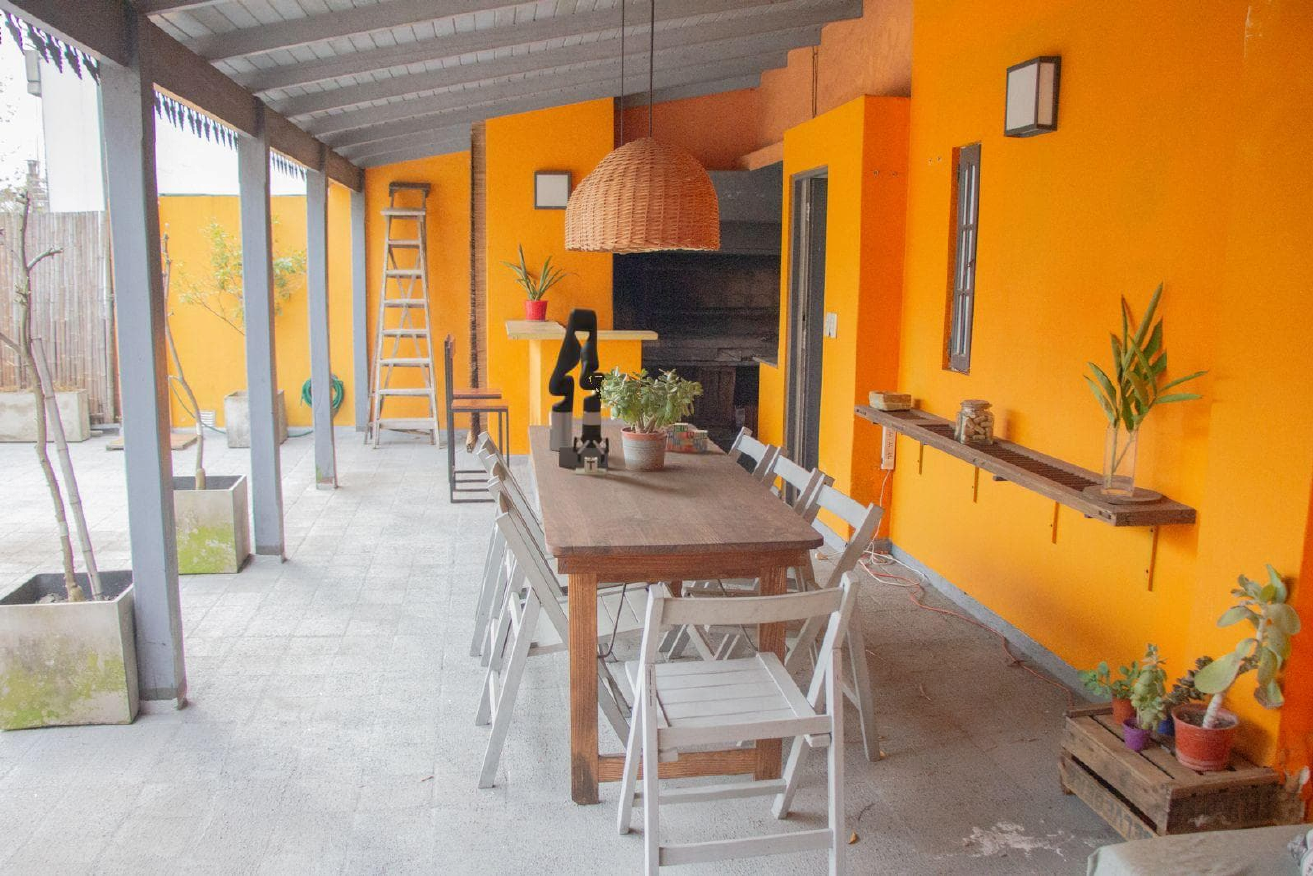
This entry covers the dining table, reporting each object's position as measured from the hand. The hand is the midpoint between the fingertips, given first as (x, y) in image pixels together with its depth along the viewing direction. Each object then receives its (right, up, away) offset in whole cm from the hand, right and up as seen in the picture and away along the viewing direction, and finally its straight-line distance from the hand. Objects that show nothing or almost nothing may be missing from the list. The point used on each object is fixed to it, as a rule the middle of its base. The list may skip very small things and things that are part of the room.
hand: (590, 463), depth 402 cm
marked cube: (0, -3, 0) cm, 3 cm away
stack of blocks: (+38, +4, +57) cm, 69 cm away
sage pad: (0, -4, +1) cm, 4 cm away
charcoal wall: (-4, -2, +11) cm, 12 cm away
